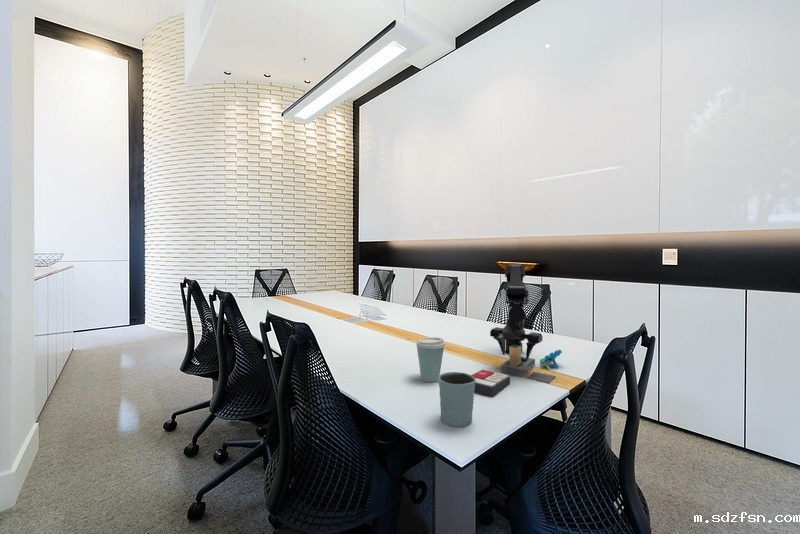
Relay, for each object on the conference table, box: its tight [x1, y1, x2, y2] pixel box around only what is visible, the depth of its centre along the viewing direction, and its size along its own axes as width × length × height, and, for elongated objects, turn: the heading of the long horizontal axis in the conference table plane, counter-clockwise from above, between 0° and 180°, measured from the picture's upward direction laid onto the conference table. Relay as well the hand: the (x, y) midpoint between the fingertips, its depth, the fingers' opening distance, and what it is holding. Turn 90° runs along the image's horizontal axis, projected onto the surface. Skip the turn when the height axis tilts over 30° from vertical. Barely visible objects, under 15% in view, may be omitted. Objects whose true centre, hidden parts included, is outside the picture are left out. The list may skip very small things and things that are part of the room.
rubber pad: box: [526, 371, 557, 384], centre depth 132 cm, size 8×8×1 cm
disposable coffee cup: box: [416, 336, 446, 383], centre depth 130 cm, size 11×11×15 cm
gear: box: [539, 348, 563, 371], centre depth 143 cm, size 11×6×10 cm
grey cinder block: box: [500, 356, 536, 378], centre depth 141 cm, size 8×16×3 cm, turn 142°
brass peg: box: [508, 345, 522, 367], centre depth 138 cm, size 3×3×10 cm
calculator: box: [471, 369, 511, 399], centre depth 123 cm, size 11×4×15 cm
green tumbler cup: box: [438, 371, 476, 429], centre depth 99 cm, size 10×10×12 cm
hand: (515, 356), depth 138 cm, fingers open, 9 cm apart
